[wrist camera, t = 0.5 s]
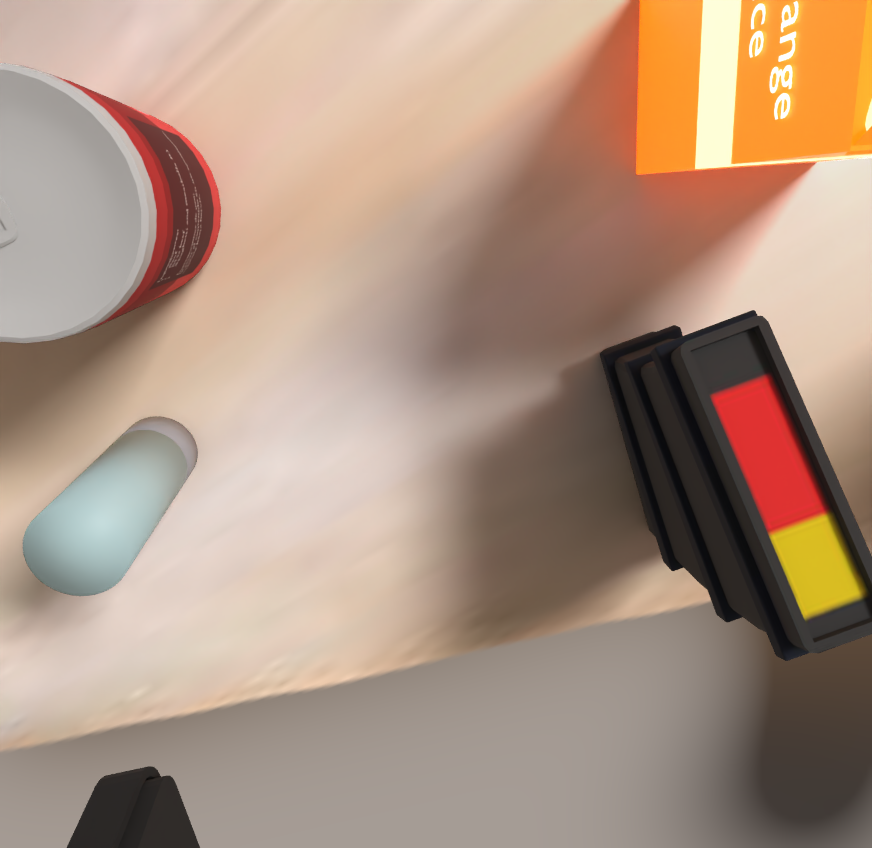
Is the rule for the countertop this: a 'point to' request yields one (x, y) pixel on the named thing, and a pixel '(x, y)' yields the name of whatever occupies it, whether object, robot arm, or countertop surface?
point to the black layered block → (742, 482)
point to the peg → (110, 509)
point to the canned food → (92, 207)
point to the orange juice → (753, 83)
